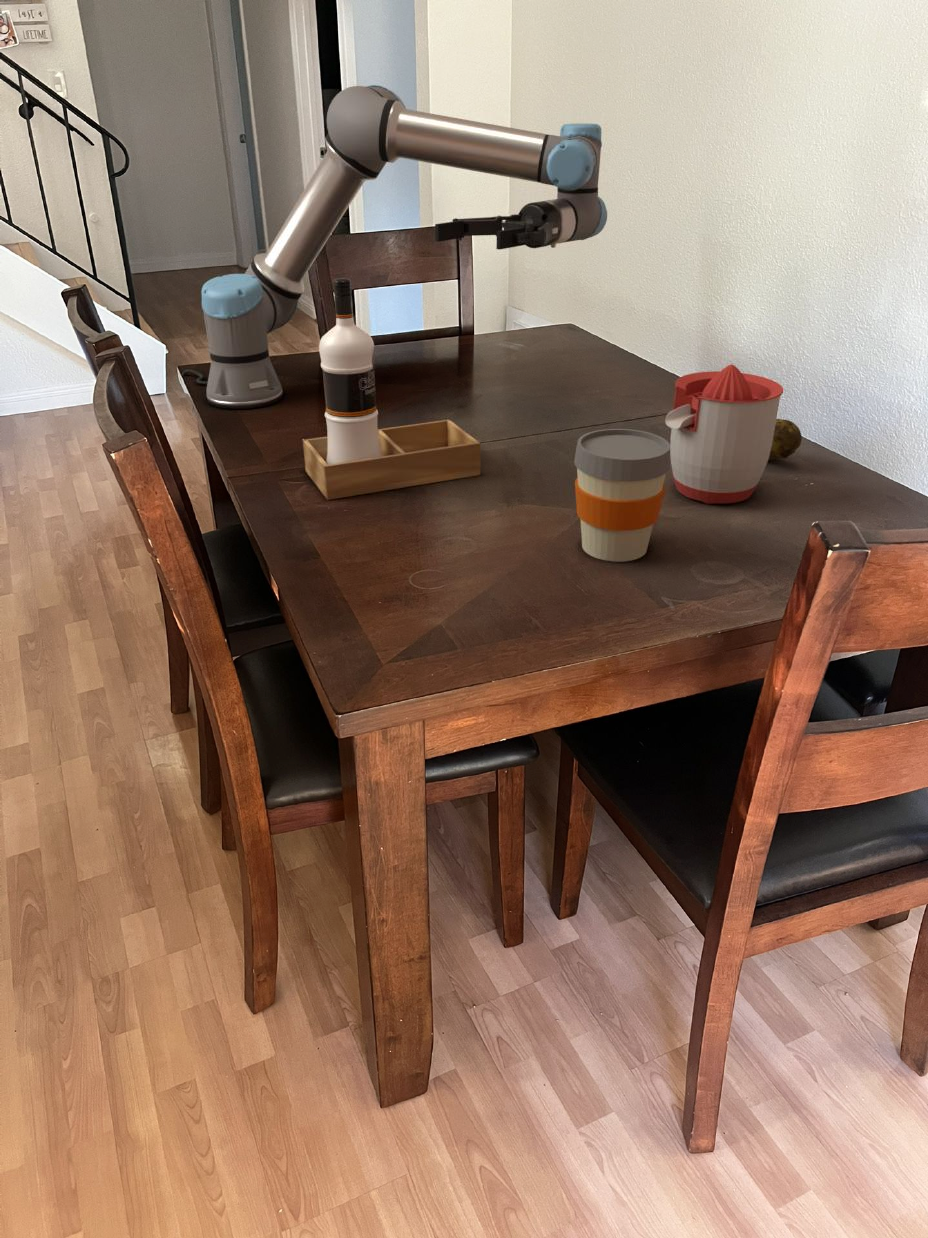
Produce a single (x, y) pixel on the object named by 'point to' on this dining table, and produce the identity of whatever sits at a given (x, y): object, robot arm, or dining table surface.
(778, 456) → the potato
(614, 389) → the dining table surface
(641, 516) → the reusable coffee cup
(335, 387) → the vodka
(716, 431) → the citrus juicer
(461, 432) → the wooden divided tray
